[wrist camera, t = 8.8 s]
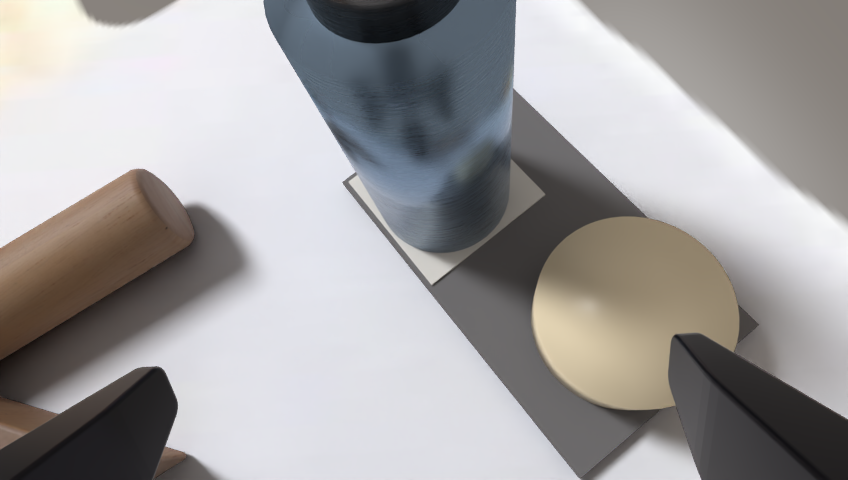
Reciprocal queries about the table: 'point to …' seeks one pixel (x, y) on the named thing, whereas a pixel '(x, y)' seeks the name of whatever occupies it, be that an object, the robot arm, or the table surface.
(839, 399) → the table surface
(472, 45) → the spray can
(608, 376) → the beige round puck
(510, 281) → the mat
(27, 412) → the wooden block
